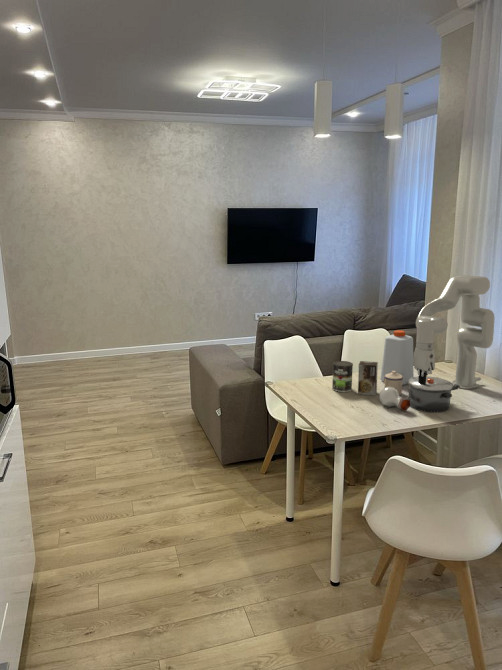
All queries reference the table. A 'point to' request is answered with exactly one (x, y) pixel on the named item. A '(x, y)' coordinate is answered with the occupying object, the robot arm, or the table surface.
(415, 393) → the pot
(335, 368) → the coffee can
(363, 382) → the coffee box
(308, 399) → the table surface
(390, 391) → the potion bottle
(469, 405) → the table surface
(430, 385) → the lid
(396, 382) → the teacup with lid
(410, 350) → the plastic bottle
